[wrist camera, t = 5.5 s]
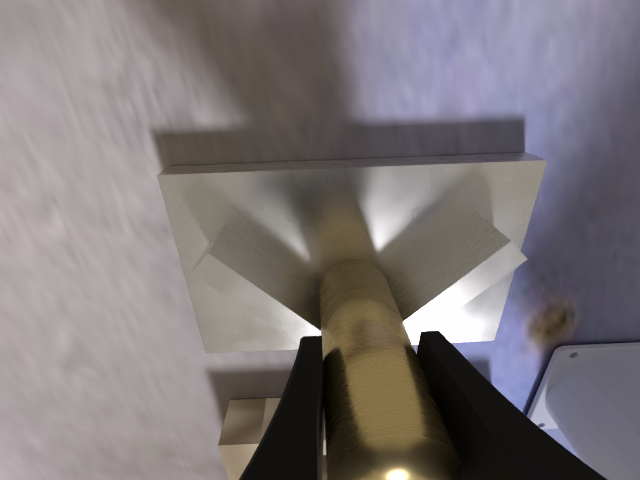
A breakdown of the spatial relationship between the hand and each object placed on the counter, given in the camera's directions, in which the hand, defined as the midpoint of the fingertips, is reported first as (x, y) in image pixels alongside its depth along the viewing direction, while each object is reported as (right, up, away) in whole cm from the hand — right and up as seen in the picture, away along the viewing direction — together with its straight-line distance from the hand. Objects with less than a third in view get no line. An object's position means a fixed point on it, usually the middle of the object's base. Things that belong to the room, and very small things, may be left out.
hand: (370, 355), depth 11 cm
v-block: (0, +3, +6) cm, 7 cm away
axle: (0, +1, +4) cm, 4 cm away
